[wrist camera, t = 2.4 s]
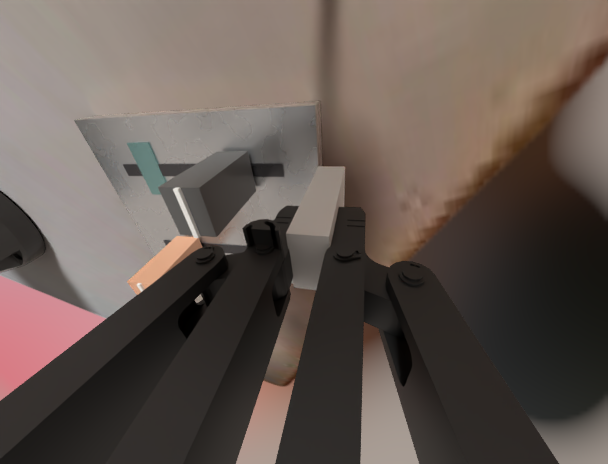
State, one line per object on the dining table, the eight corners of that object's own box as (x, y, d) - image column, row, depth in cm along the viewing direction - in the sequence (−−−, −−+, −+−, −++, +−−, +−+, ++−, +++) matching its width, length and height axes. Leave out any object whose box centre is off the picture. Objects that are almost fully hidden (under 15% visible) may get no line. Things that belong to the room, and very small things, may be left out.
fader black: (228, 190, 18) (178, 236, 13) (216, 151, 17) (154, 188, 12) (256, 190, 18) (215, 239, 13) (247, 151, 16) (196, 189, 11)
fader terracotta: (188, 258, 24) (143, 308, 20) (176, 235, 23) (125, 283, 18) (208, 260, 24) (167, 311, 19) (198, 237, 22) (151, 286, 17)
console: (173, 257, 29) (161, 269, 27) (97, 115, 20) (72, 120, 18) (326, 272, 25) (323, 287, 23) (320, 100, 16) (314, 105, 14)
